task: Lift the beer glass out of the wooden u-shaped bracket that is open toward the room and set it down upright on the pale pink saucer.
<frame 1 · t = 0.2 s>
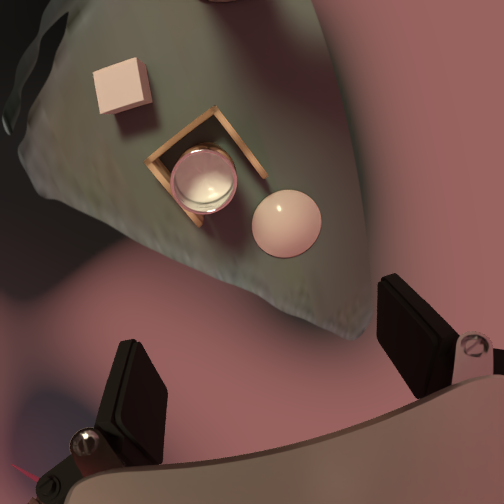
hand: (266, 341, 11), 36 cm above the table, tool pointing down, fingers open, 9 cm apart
beer glass: (206, 162, 43), on the table
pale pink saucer: (286, 223, 48), on the table
wooden u-shaped bracket: (206, 162, 43), on the table
pale pink cube: (129, 89, 37), on the table
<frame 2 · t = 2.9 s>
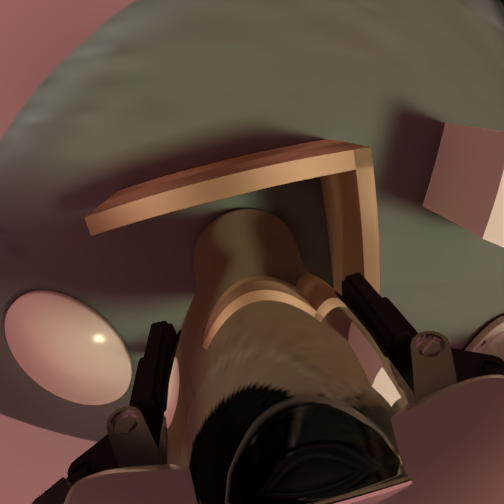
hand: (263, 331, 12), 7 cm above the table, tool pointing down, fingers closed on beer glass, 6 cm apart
beer glass: (245, 257, 18), on the table, touching gripper
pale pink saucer: (65, 352, 19), on the table
wooden u-shaped bracket: (246, 259, 18), on the table
pale pink cube: (459, 177, 18), on the table
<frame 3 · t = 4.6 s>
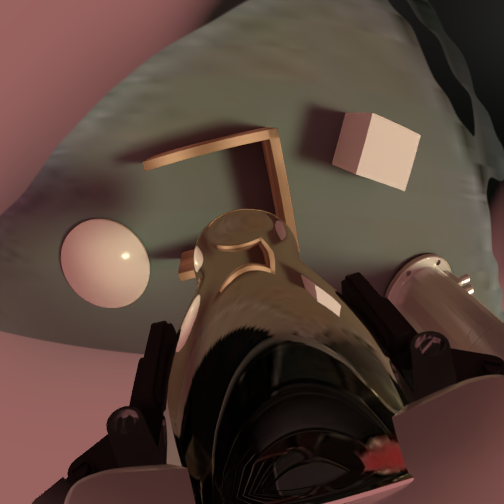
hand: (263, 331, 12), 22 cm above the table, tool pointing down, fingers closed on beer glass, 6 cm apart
beer glass: (245, 257, 18), point 15 cm above the table, touching gripper
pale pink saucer: (104, 264, 32), on the table
wooden u-shaped bracket: (222, 194, 31), on the table
pale pink cube: (360, 146, 31), on the table
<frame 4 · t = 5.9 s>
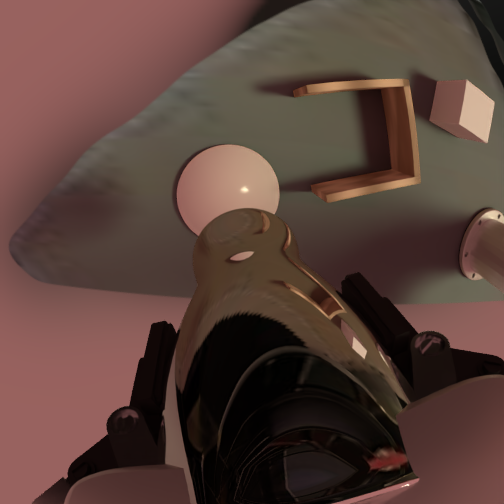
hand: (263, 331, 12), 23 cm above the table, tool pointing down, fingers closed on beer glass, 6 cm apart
beer glass: (245, 256, 18), point 16 cm above the table, touching gripper
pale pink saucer: (228, 194, 33), on the table
wooden u-shaped bracket: (350, 133, 32), on the table
pale pink cube: (447, 109, 32), on the table
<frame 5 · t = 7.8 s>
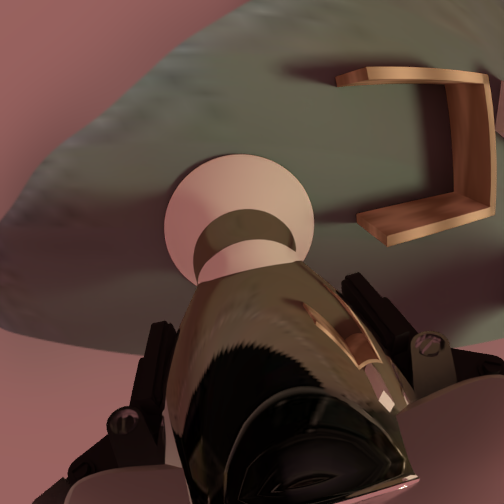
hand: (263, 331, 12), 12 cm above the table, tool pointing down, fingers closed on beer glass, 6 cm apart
beer glass: (245, 256, 18), point 5 cm above the table, touching gripper
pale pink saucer: (239, 228, 23), on the table
wooden u-shaped bracket: (410, 143, 21), on the table
when the fingers open (8 cm above the table, at t = 9.2 s): beer glass stays where it is, resting on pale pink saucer.
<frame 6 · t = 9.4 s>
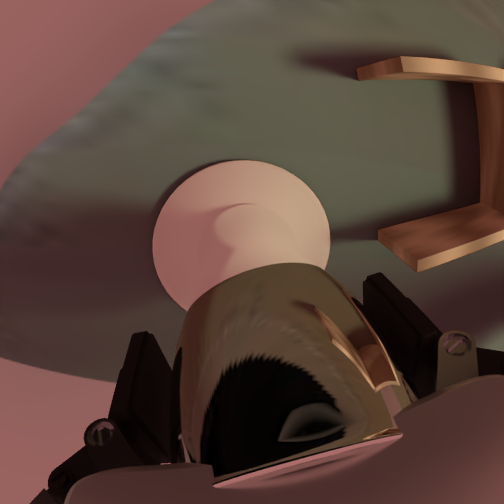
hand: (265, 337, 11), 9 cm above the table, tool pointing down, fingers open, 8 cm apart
beer glass: (246, 251, 19), resting on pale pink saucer
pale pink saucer: (242, 248, 19), on the table
wooden u-shaped bracket: (437, 148, 18), on the table
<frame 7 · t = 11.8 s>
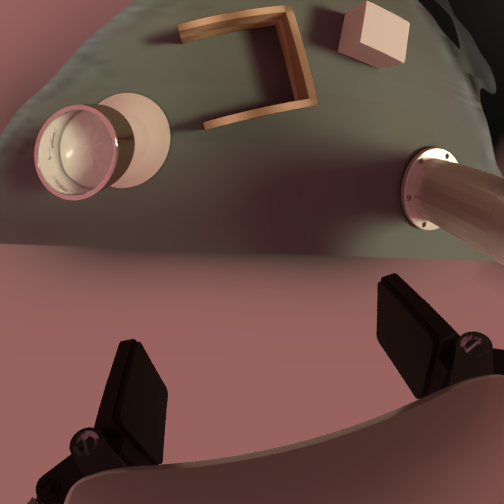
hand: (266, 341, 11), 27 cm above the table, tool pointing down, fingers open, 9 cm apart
beer glass: (124, 140, 31), resting on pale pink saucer
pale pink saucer: (123, 140, 31), on the table
wooden u-shaped bracket: (242, 69, 30), on the table
pale pink cube: (361, 41, 30), on the table
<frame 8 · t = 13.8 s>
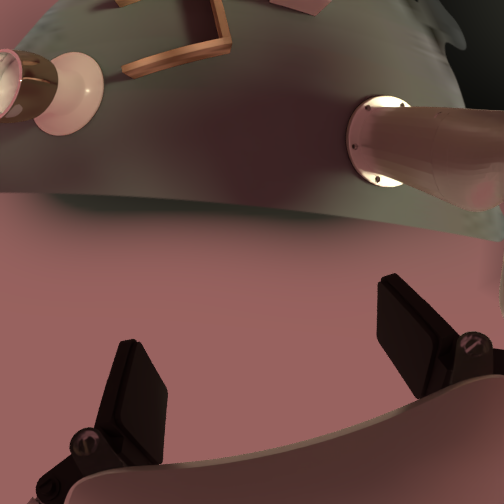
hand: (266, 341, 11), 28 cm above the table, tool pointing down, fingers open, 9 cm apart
beer glass: (65, 92, 29), resting on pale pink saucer
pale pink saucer: (65, 93, 29), on the table
wooden u-shaped bracket: (171, 24, 28), on the table
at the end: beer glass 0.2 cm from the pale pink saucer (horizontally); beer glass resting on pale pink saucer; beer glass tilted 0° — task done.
